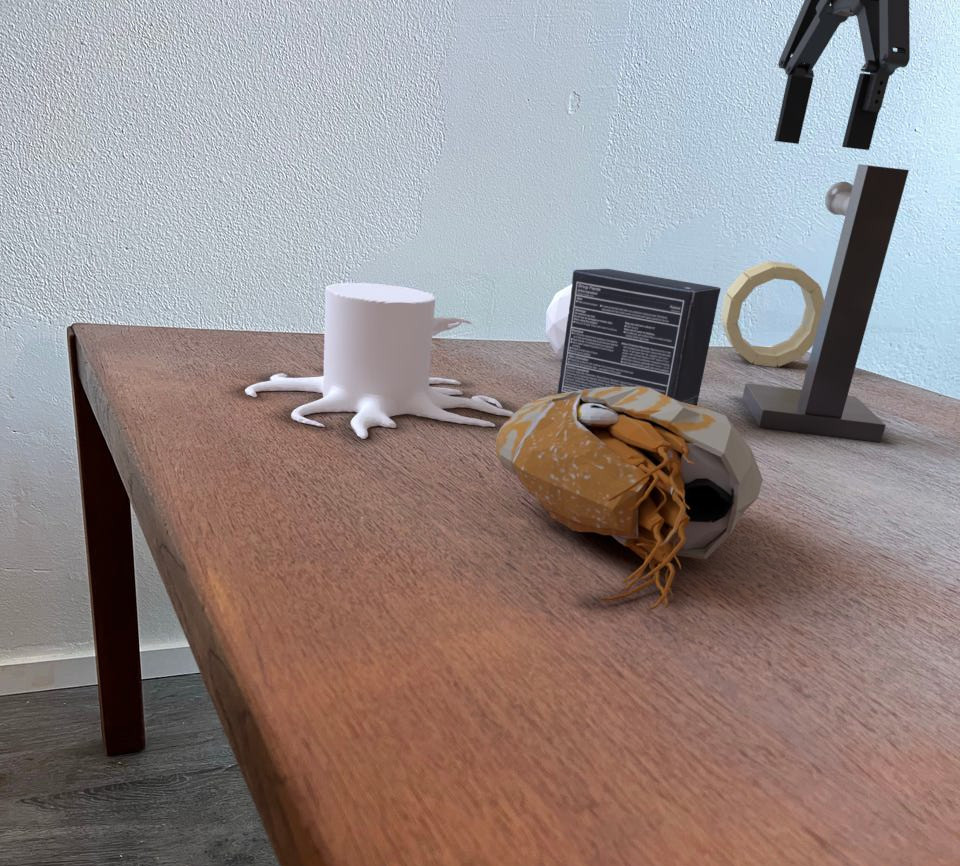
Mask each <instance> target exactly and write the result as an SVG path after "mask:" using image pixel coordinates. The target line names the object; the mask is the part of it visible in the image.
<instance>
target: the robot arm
mask: <svg viewBox="0 0 960 866" xmlns="http://www.w3.org/2000/svg"><path fill="white" fill-rule="evenodd" d="M851 17H856V19H857V25H858V29H859V35H860V41H861V45H862V46H861V47H862V51H863V56H864V61H865V63H864V64H863V65H862V67H861V68H860V71H861V73H859V75H858V79H857V83H856V87H855V92H854V96H853V100H852V104H851V107H850V112H849V116H848V121H847V124H846V129H845V131H844V136H843V141H842V145H841V147H842V148H847V149H853V150H854V149H856V150H863V151H870V148H871V145H872V140H873V136H874V132H875V128H876V124H877V121H878V117H879V113H880V110H881V108H882V106H883V103H884V100H885V99H884V98H885V94H886V91H887V86H888V83H889V79H890V77H891V76H892V75H894V73H895V71H896V70H897V69H899V68H903V69H904V68H906V67H907V66H908V64H909V62H910V58H911V57H910V56H911V51H910V49H911V43H910V41H911V40H910V39H911V38H910V35H911V34H910V26H911V25H910V23H911V22H910V0H804V1H803V3H802V5H801V8H800V9H799V13H798V15H797V17H796V19H795V22H794V23H793V26H792V29H791V31H790V34H789V36H788V38H787V41H786V43H785V45H784V47H783V50H782V52H781V54H780V57H779V59H778V63H777V64H778V68H779V69H781V70H782V69H783V70H784V72H785V75H787V78H786V84H785V88H784V93H783V97H782V102H781V108H780V112H779V117H778V122H777V127H776V130H775V136H774V142H778V143H787V144H794V145H795V144H796V145H799V144H800V139H801V135H802V131H803V126H804V123H805V117H806V114H807V109H808V105H809V100H810V96H811V91H812V87H813V81H814V77H815V72H814V70H813V69H814V68H815V66H816V65H817V62H818V61H819V59H820V57H821V56H822V54H823V53H824V51H825V49H826V47H827V46H828V44H829V43H830V41H831V39H832V38H833V36H834V35H835V33H836V31H837V30H838V29H839V26H840V25H841V24H843V23H845V22H847V20H849V18H851ZM894 49H896V50H894Z"/></svg>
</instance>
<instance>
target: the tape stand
mask: <svg viewBox="0 0 960 866" xmlns="http://www.w3.org/2000/svg"><path fill="white" fill-rule="evenodd" d="M909 172H910V169H904V168H896V167H886V166H878V165H870V164H860V163H859V164H857V168H856V172H855V176H854V180H853V184H852V183H850V182H848V181H839V182H836V183H834V184H832V185H831V186H830V187H829V189H828V190H827V191H826V193H825V196H824V204H825V208H826V209H827V211H829V213H831V214H832V215H835V216H843V217H844V219H843V222H842V223H843V224H842V227H841V231H840V236H839V240H838V243H837V248H836V251H835V256H834V260H833V264H832V268H831V272H830V276H829V279H828V284H827V288H826V292H825V295H824V303H823V307H822V311H821V315H820V319H819V323H818V327H817V331H816V335H815V339H814V343H813V346H812V347H811V351H810V355H809V360H808V364H807V368H806V372H805V375H804V379H803V384H802V387H801V389H798V388H791V387H781V386H774V385H766V384H758V383H749V382H746V383H745V384H744V389H743V393H742V398H741V399H742V401H743V403H744V404H745V406H746V408H747V410H748V411H749V413H750V415H751V416H752V418H753V419H754V422H756V424H757V426H758V427H759V428H760V429H767V430H775V431H782V432H783V431H784V432H790V433H791V432H793V433H801V434H807V435H808V434H809V435H817V436H824V437H834V438H840V439H849V440H857V441H866V442H874V443H881V441H882V439H883V435H884V432H885V428H886V424H885V423H884V422H883V421H882V420H881V419H880V418H879V417H878V416H877V415H876V414H874V412H872V411H871V409H869V408H868V406H866V404H864V403H863V402H862V401H861V400H860V399H859V398H858V396H855V395H849V392H850V388H851V384H852V381H853V378H854V374H855V369H856V366H857V362H858V358H859V356H860V355H859V354H860V353H861V352H860V351H861V347H862V344H863V340H864V337H865V333H866V330H867V327H868V326H867V325H868V323H869V322H868V321H869V320H870V319H869V318H870V314H871V311H872V307H873V304H874V300H875V296H876V293H877V289H878V285H879V282H880V278H881V275H882V274H881V273H882V270H883V266H884V263H885V260H886V255H887V253H888V248H889V244H890V242H891V237H892V234H893V230H894V226H895V223H896V219H897V216H898V212H899V209H900V204H901V201H902V199H903V198H902V197H903V194H904V190H905V186H906V183H907V179H908V175H909Z"/></svg>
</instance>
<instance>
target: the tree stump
mask: <svg viewBox="0 0 960 866" xmlns="http://www.w3.org/2000/svg"><path fill="white" fill-rule="evenodd" d="M324 299H325V300H324V301H325V303H324V304H325V305H324V338H323V339H324V340H323V341H324V342H323V343H324V344H323V375H322V376H313V377H311V376H309V377H288V375H287V374H286V373H276V374H273V375H271V376H270V377H269V380H267V381H260V382H256V383H253V384H251V385H249V386H248V387H246V388H245V390H244V392H245V394H246V395H247V396H249V397H250V396H251V397H253V398H257V397H258V394H257V393H259V392H273V391H274V392H275V391H276V392H277V391H281V392H282V391H283V392H284V391H285V392H287V391H290V392H292V391H293V392H294V391H298V392H311V393H318V394H322V398H319V399H317V400H314V401H311V402H307V403H305V404H303V405H300V406H298V407H296V408H295V409H294V410H292V412H291V414H290V416H291V419H293V421H297V423H302V424H306V425H311V426H316V427H319V428H320V427H321V428H325V427H326V426H325V424H323V423H320V422H318V421H316V420H311V419H309V418H306V417H304V416H307V415H310V414H317V413H339V412H340V413H342V412H347V413H356V414H355V415H354V416H353V418H352V419H351V420H350V426H351V429H353V431H354V432H355V434H356V436H357V437H359V438H361V439H362V440H365V439H367V438H368V437H369V432H368V429H369V428H372V427H378V426H379V427H383V428H391V429H393V428H394V429H395V428H397V424H396V422H395V421H394V420H393V419H391V417H394V416H400V415H410V416H417V417H423V418H429V419H431V420H438V421H440V422H449V423H456V424H465V425H471V426H479V427H485V428H486V427H496V424H495V423H494V422H491V421H488V420H484V419H479V418H474V417H470V416H469V417H468V416H463V415H459V414H457V413H453V412H449V411H446V410H444V409H454V408H468V409H472V410H476V411H480V412H484V413H488V414H491V415H497V416H504V417H509V418H510V417H511V416H512V415H513V414H514V413H515V412H513V411H510V410H509V409H505V408H503V406H502V404H501V403H500V402H499V401H498V400H497V399H496V398H493V397H490V396H487V395H482V394H481V395H473V396H472V397H471V398H469V397H460V396H457V395H463V392H462V391H461V390H459V389H455V388H445V387H436V386H430V385H434V384H436V385H439V384H448V385H449V384H450V385H455V386H456V385H459V386H460V385H462V383H461V382H460V381H458V380H456V379H451V378H441V377H430V374H431V362H432V350H434V349H435V350H437V348H436V345H435V344H434V343H433V337H435V336H437V335H439V334H440V333H442V332H445V331H446V332H447V331H450V330H452V329H455V328H457V327H459V326H460V325H462V323H466V324H470V325H472V323H471V321H469V320H465V317H462V318H457V317H447V316H436V317H435V310H436V309H435V307H436V296H435V295H434V293H433V294H432V293H431V292H428V291H427V292H426V291H422V290H419V289H416V288H411V287H406V286H404V287H403V286H399V285H390V284H381V283H369V282H340V283H331V284H329V285H328V286H327V285H326V287H325V298H324ZM432 348H433V349H432ZM490 403H492V404H490ZM495 405H496V406H495Z"/></svg>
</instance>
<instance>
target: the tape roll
mask: <svg viewBox="0 0 960 866" xmlns="http://www.w3.org/2000/svg"><path fill="white" fill-rule="evenodd" d="M775 279H776V280H782V281H790V282H791V281H792V282H793V283H795V284H796V285H797V286H799V288H800V290H801V294H802V297H803V301H804V303H805V308H804V312H803V315H802V320H801V324H800V325H799V326H798V327H797V329H796V330H795V331H794V332H793V333H792V334H791V336H790V337H789V338H788V339H786V340H784V341H781V342H780V343H777V344H774V345H772V346H762V345H752V344H751V343H750V342H748V341H747V340H746V339H745V338H744V337H743V335H742V332H741V330H740V327H739V320H740V315H741V310H742V306H743V303H744V302H745V301H746V299H748V296H749V295H751V293H752V292H753V291H754V290H755V288H757V287H759V286H762V285H763V284H765V283H767V282H768V283H769V282H771V281H773V280H775ZM824 299H825V296H824V293H823V291H822V287H821V286H820V284H819V283H818V282H817V281H816V280H815V279H814V278H812V277H811V276H810V275H809V274H807V273H806V272H805V271H804V270H803V269H801V268H799V267H798V266H797V265H794V264H793V263H789V262H780V261H772V260H768V261H764V262H761V263H759V264H757V265H754V266H752V267H750V268H748V269H745V270H743V272H741V273H740V274H739V275H738V276H737V278H736V279H735V280H734V281H733V283H732V284H730V286H729V287H728V289H727V290H726V293H724V297H723V303H722V308H721V313H720V321H721V322H720V323H721V324H722V327H723V331H724V333H725V337H726V339H727V341H728V342H729V344H730V346H731V347H732V348H733V350H734V351H735V352H736V353H738V354H739V355H740V356H741V357H742V358H744V359H745V360H746V361H747V362H749V364H753V365H755V366H763V367H772V368H777V367H778V368H779V367H781V366H782V367H783V366H784V365H787V364H789V363H792V362H795V361H797V360H800V359H801V358H802V357H804V356H805V355H806V354H807V353H808V351H810V350H811V349H812V347H813V343H814V339H815V335H816V331H817V327H818V323H819V319H820V315H821V311H822V307H823V303H824Z"/></svg>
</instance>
